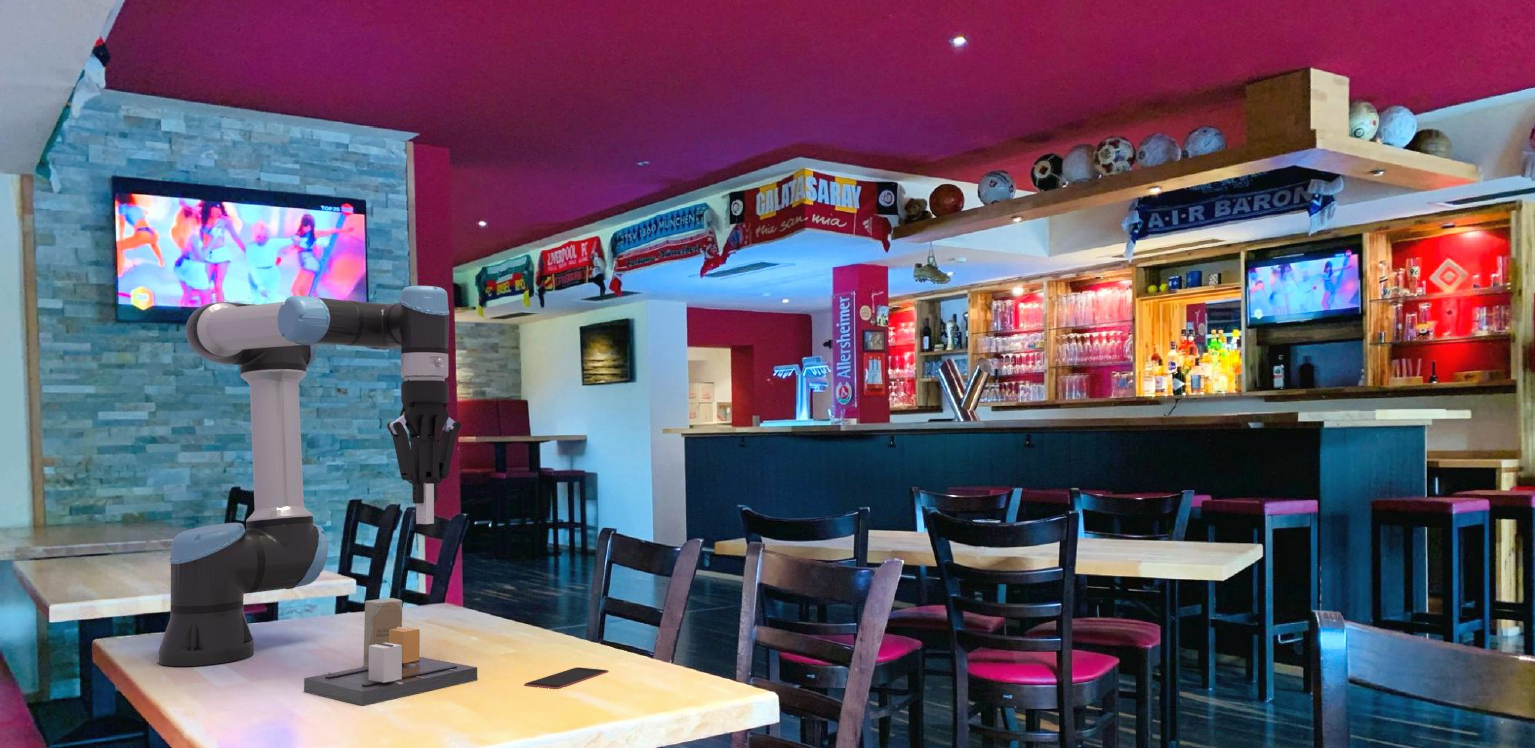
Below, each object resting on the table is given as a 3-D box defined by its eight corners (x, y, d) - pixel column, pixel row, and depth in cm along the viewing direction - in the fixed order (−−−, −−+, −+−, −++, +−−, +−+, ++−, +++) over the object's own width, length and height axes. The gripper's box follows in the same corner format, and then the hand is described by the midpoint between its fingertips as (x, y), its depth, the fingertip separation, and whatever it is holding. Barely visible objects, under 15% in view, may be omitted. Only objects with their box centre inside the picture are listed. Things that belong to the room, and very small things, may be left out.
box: (372, 669, 183) (372, 602, 184) (362, 666, 187) (362, 600, 187) (403, 665, 187) (403, 599, 187) (392, 661, 190) (393, 596, 191)
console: (302, 691, 168) (302, 676, 169) (416, 668, 184) (416, 654, 184) (364, 705, 158) (364, 690, 158) (478, 680, 174) (478, 666, 174)
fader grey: (368, 679, 165) (368, 644, 165) (386, 675, 167) (386, 641, 167) (383, 682, 162) (383, 646, 163) (401, 678, 165) (401, 643, 165)
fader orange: (388, 660, 179) (388, 628, 179) (405, 657, 181) (405, 625, 181) (403, 663, 176) (403, 630, 176) (419, 660, 179) (419, 627, 179)
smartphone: (611, 670, 179) (557, 687, 167) (611, 673, 179) (557, 691, 167) (576, 666, 182) (521, 683, 170) (576, 670, 182) (521, 687, 170)
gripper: (403, 377, 175) (403, 527, 173) (471, 380, 185) (472, 521, 183) (376, 379, 179) (376, 525, 178) (444, 382, 189) (444, 519, 188)
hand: (425, 523), depth 181 cm, fingers closed
